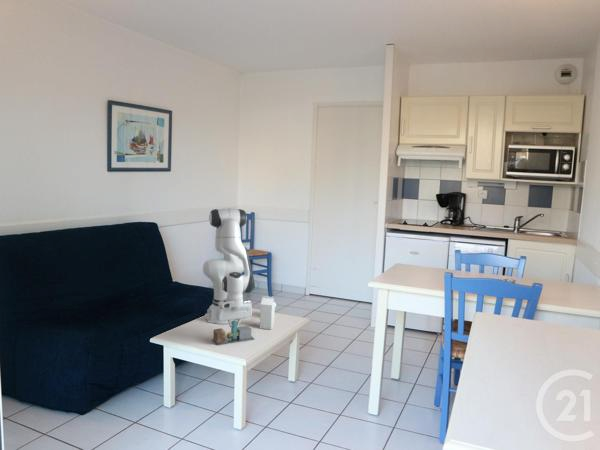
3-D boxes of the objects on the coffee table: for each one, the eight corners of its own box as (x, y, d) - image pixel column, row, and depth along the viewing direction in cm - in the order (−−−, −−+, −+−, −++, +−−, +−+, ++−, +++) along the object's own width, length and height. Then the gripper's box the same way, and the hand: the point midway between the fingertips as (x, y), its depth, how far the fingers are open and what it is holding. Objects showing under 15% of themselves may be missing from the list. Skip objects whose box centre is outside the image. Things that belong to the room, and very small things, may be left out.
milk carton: (271, 329, 285) (272, 298, 282) (259, 328, 286) (260, 297, 284) (274, 326, 291) (275, 295, 289) (262, 324, 293) (263, 294, 291)
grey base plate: (248, 335, 274) (249, 324, 273) (254, 339, 267) (254, 329, 267) (211, 340, 263) (212, 329, 262) (216, 345, 256) (217, 334, 256)
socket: (221, 339, 265) (221, 328, 264) (225, 343, 260) (225, 331, 259) (213, 340, 263) (213, 329, 262) (217, 344, 257) (217, 332, 257)
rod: (248, 334, 271) (248, 318, 270) (250, 336, 268) (251, 320, 267) (226, 338, 265) (227, 321, 264) (229, 340, 262) (229, 323, 261)
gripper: (249, 298, 271) (249, 322, 272) (215, 302, 261) (214, 327, 262) (254, 301, 265) (253, 325, 267) (219, 305, 255) (218, 330, 257)
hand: (234, 326), depth 264 cm, fingers closed on rod, 2 cm apart
